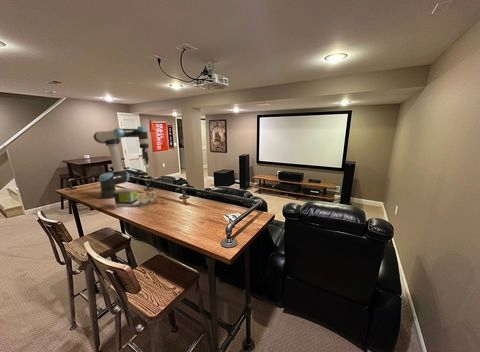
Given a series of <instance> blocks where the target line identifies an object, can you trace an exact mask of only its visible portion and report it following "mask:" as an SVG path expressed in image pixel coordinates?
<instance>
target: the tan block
mask: <svg viewBox="0 0 480 352" xmlns="http://www.w3.org/2000/svg"><path fill="white" fill-rule="evenodd" d="M139 198H140V202H141V205H143V204H147V201H148V200H147V198H148V197H147V193H146V192H141V193H139Z"/></svg>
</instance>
